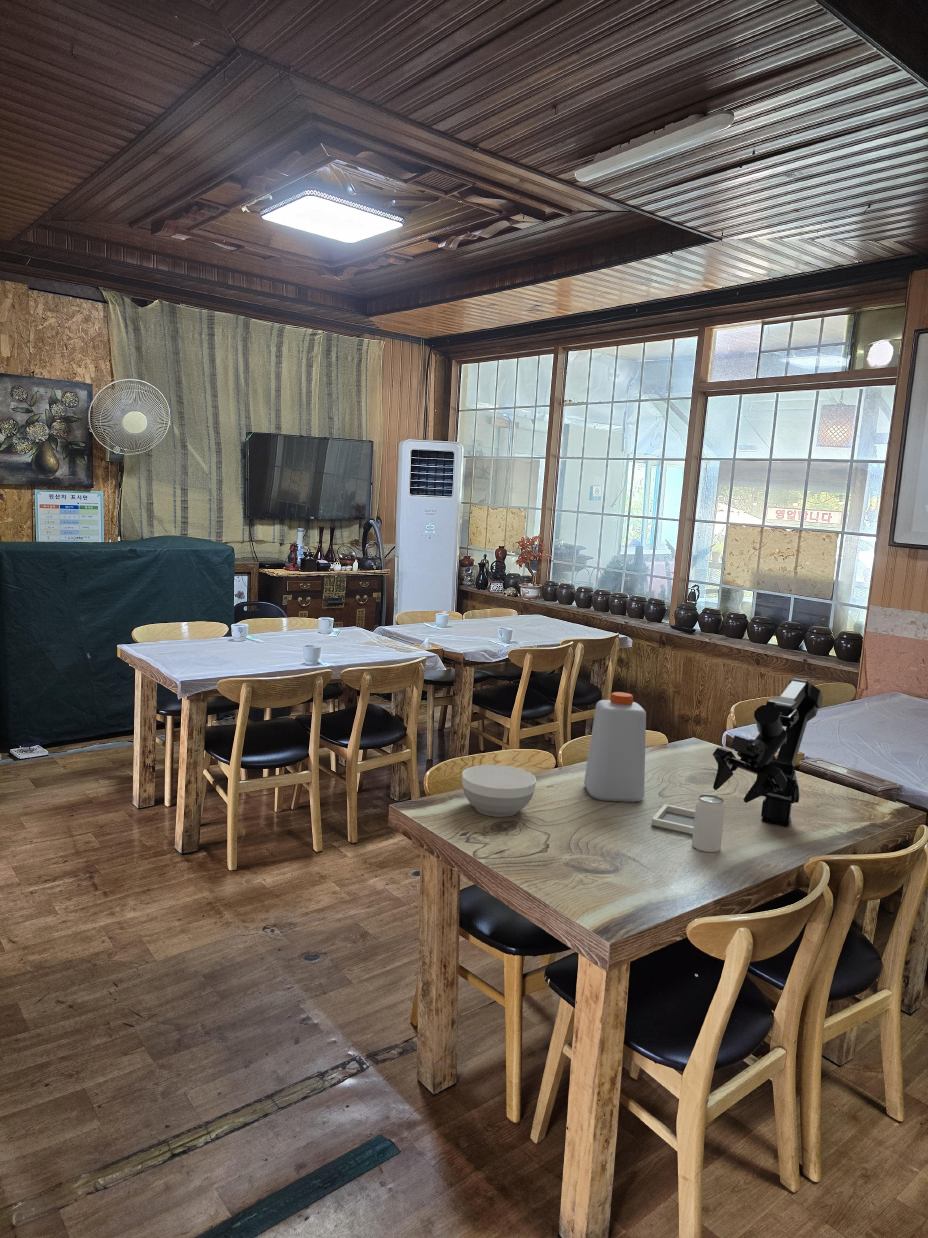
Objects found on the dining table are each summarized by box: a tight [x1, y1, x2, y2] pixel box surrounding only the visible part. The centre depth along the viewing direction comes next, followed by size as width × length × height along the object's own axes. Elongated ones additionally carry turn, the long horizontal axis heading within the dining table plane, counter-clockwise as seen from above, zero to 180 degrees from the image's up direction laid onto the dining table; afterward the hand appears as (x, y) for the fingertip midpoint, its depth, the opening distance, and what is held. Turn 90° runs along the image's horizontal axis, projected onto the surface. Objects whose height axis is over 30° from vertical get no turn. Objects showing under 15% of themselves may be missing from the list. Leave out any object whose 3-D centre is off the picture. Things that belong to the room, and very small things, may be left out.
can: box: [691, 793, 726, 854], centre depth 196 cm, size 6×6×12 cm
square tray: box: [650, 803, 695, 837], centre depth 211 cm, size 13×13×2 cm
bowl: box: [461, 764, 537, 818], centre depth 213 cm, size 19×19×9 cm
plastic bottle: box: [583, 691, 647, 803], centre depth 230 cm, size 15×15×28 cm
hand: (729, 795), depth 199 cm, fingers open, 9 cm apart
